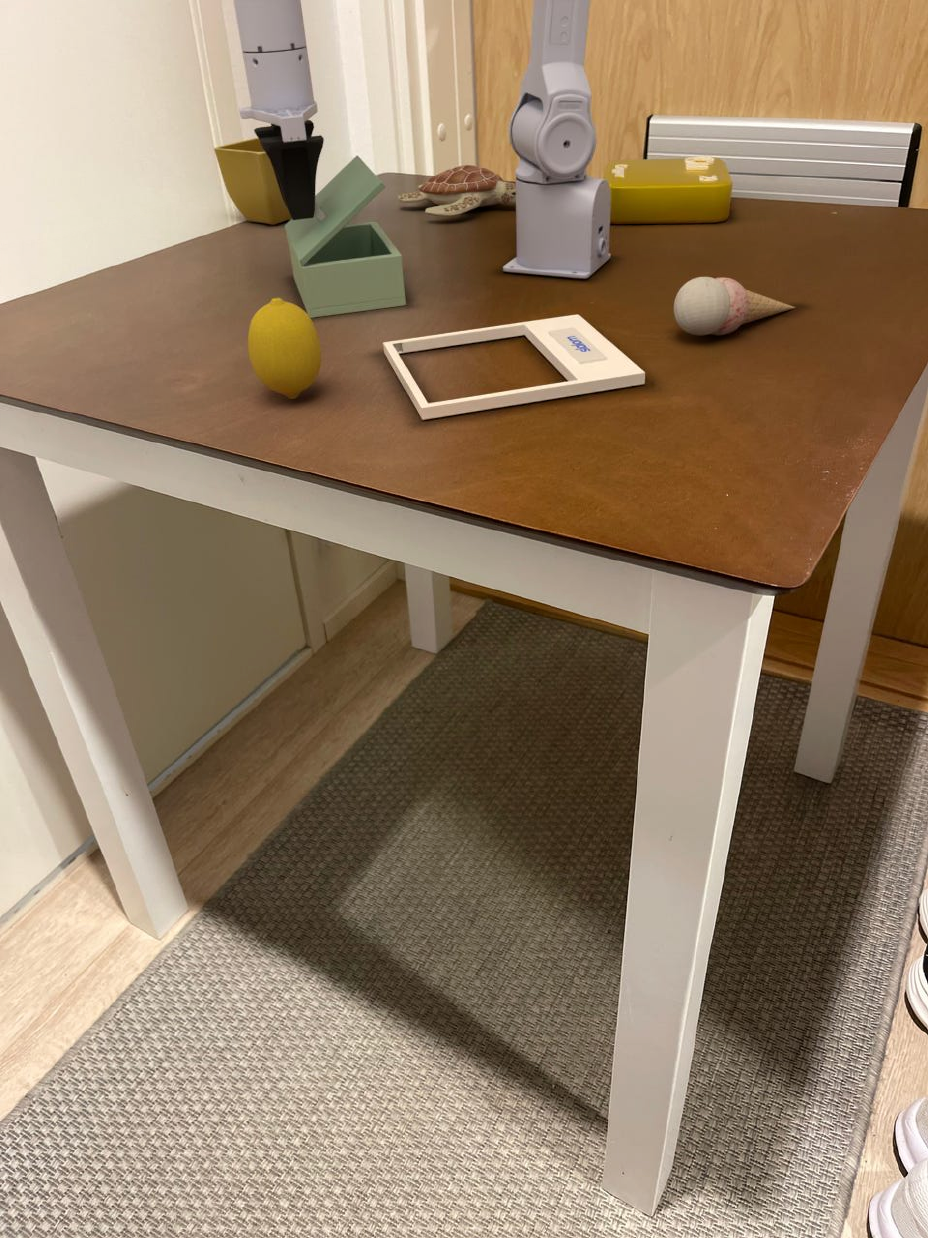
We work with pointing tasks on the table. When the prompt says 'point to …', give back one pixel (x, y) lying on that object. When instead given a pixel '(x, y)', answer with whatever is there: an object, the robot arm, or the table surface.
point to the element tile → (669, 190)
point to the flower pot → (252, 181)
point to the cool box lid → (334, 208)
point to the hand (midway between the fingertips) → (299, 211)
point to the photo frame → (558, 339)
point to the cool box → (351, 273)
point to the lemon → (284, 348)
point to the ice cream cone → (720, 306)
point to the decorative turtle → (463, 191)
